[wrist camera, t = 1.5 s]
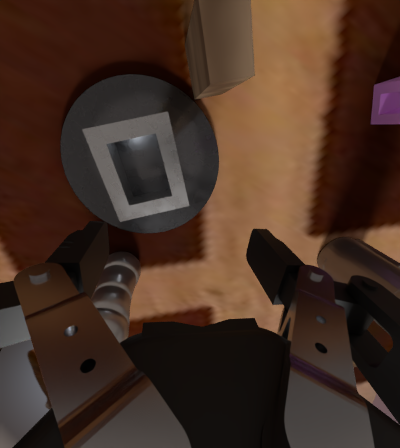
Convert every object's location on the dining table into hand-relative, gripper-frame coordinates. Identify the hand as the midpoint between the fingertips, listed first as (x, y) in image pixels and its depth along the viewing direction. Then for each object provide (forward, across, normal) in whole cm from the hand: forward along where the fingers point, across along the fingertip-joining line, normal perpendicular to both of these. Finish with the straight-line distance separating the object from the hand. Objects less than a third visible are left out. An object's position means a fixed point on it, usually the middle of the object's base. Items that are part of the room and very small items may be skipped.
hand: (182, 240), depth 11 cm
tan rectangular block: (+23, -4, -13) cm, 27 cm away
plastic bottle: (+23, +8, +18) cm, 30 cm away
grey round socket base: (+23, +4, 0) cm, 23 cm away
